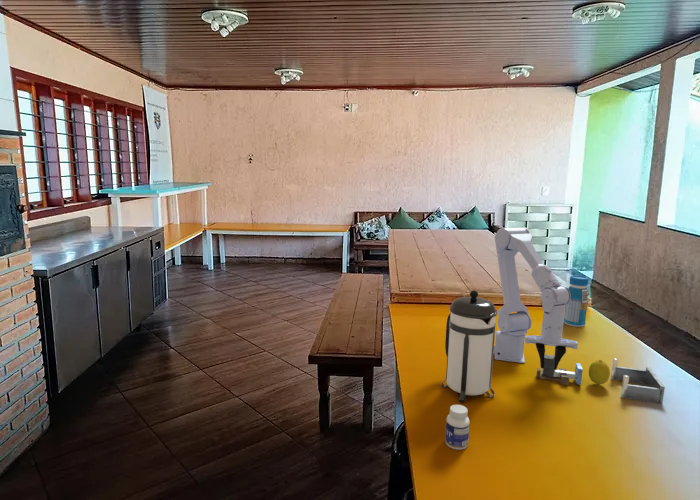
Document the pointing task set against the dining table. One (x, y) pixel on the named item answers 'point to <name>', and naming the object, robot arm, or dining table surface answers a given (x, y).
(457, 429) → the pill bottle
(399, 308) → the dining table surface
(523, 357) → the robot arm
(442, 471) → the dining table surface
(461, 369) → the coffee press
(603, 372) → the lemon
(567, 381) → the track
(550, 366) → the rod
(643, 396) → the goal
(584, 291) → the beverage bottle
